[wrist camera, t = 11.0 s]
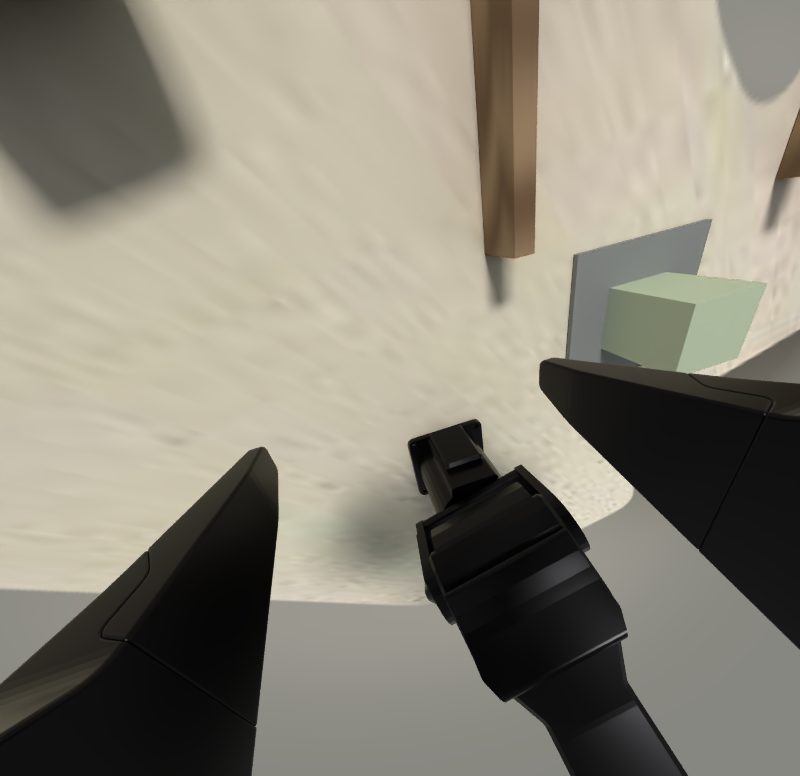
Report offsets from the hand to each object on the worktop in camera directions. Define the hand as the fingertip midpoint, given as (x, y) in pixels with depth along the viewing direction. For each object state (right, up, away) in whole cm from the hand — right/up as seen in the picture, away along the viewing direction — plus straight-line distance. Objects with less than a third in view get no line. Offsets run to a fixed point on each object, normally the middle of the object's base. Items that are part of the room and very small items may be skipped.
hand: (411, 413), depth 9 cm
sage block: (+18, +7, +15) cm, 24 cm away
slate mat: (+18, +7, +15) cm, 25 cm away
